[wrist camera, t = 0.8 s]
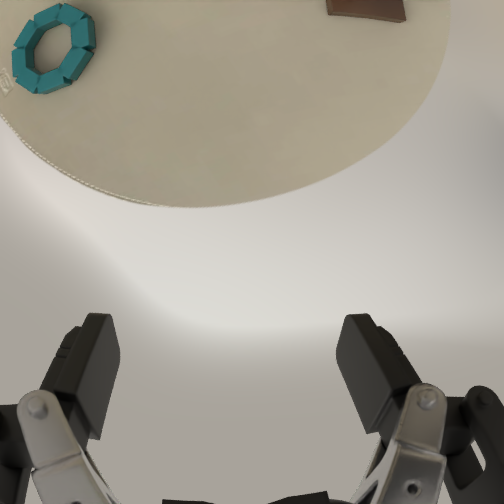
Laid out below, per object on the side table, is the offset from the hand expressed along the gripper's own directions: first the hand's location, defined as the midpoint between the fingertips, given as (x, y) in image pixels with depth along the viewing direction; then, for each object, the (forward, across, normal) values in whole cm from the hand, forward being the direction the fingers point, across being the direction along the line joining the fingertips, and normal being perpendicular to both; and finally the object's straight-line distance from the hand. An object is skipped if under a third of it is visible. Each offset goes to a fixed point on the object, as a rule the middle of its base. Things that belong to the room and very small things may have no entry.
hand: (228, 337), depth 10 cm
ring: (+25, +19, -16) cm, 35 cm away
